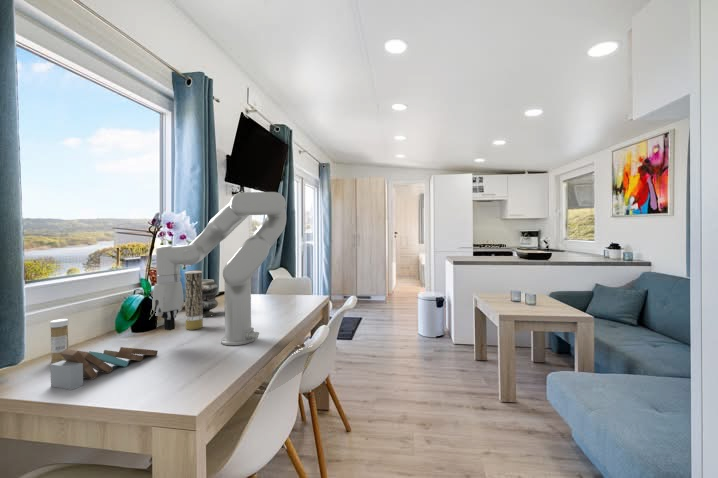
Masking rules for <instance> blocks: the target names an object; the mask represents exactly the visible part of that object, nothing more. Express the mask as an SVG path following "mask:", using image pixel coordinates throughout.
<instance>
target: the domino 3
mask: <svg viewBox="0 0 718 478" xmlns="http://www.w3.org/2000/svg"><path fill="white" fill-rule="evenodd" d="M88 352H89V353H90V354H92V355H93V356H95V357H97V358H98V359H100V360H101V361H103V362H105V363H106V364H108V365H112V366H118V367H124V368H126V367H127V366H128V365H129V363H130V362H129V361H128V360H126V359H123V358H117V357H113V356H110V355H106V354H103V353H104V352H103V353H102V352H99V351H98V352H97V351H88Z"/></svg>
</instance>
